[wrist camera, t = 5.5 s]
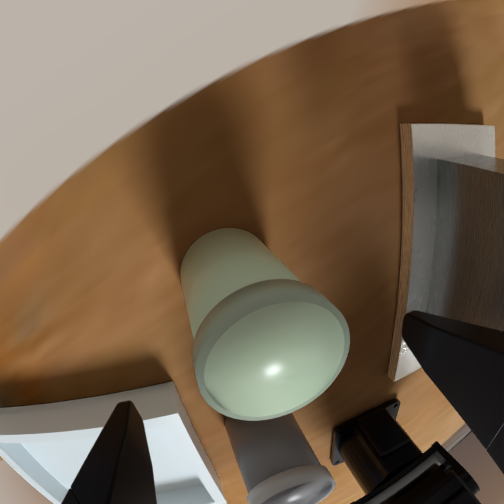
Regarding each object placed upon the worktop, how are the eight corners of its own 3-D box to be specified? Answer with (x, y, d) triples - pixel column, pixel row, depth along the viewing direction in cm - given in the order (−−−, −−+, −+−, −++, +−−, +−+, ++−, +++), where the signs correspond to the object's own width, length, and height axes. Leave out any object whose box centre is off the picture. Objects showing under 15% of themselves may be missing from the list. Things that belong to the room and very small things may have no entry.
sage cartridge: (279, 302, 17) (346, 391, 10) (189, 326, 16) (217, 435, 9) (268, 213, 15) (351, 274, 9) (164, 237, 14) (176, 323, 8)
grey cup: (292, 425, 21) (333, 499, 15) (229, 445, 20) (258, 525, 14) (288, 383, 19) (338, 467, 13) (214, 405, 18) (245, 500, 12)
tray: (219, 479, 22) (227, 503, 19) (76, 498, 19) (76, 520, 16) (172, 381, 17) (178, 413, 14) (-10, 408, 14) (-19, 435, 12)
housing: (461, 333, 24) (529, 385, 16) (387, 374, 22) (458, 450, 14) (483, 124, 17) (590, 145, 9) (399, 123, 15) (547, 142, 7)
